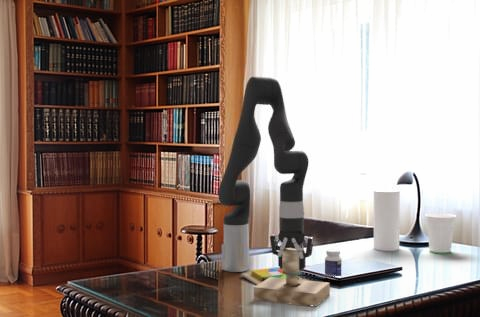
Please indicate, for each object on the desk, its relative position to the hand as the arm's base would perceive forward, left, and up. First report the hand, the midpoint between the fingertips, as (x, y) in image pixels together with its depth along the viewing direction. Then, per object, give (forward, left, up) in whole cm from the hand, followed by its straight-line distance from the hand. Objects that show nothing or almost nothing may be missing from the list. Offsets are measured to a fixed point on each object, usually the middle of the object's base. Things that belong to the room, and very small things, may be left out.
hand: (291, 269), depth 201 cm
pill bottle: (+5, +28, -9) cm, 30 cm away
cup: (+33, +89, -9) cm, 95 cm away
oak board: (0, 0, -9) cm, 9 cm away
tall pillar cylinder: (+11, +88, -9) cm, 89 cm away
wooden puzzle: (-13, +19, -10) cm, 25 cm away
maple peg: (0, 0, -5) cm, 5 cm away
